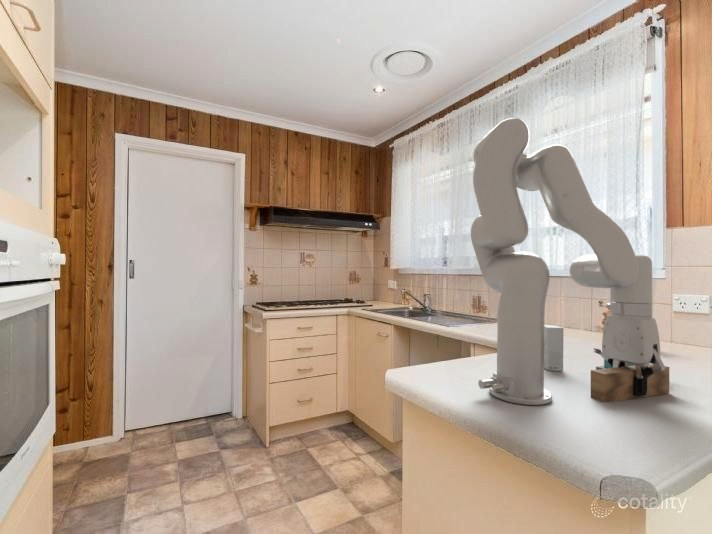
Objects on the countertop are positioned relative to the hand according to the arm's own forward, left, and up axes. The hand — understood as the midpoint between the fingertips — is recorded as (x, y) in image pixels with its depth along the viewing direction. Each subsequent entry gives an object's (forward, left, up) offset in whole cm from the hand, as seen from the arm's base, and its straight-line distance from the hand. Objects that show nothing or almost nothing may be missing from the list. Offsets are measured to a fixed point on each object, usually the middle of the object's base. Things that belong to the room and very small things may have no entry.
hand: (630, 391), depth 82 cm
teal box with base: (+16, +12, -1) cm, 20 cm away
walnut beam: (0, 0, -1) cm, 1 cm away
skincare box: (+2, +23, -1) cm, 23 cm away
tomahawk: (+32, +28, -2) cm, 42 cm away
